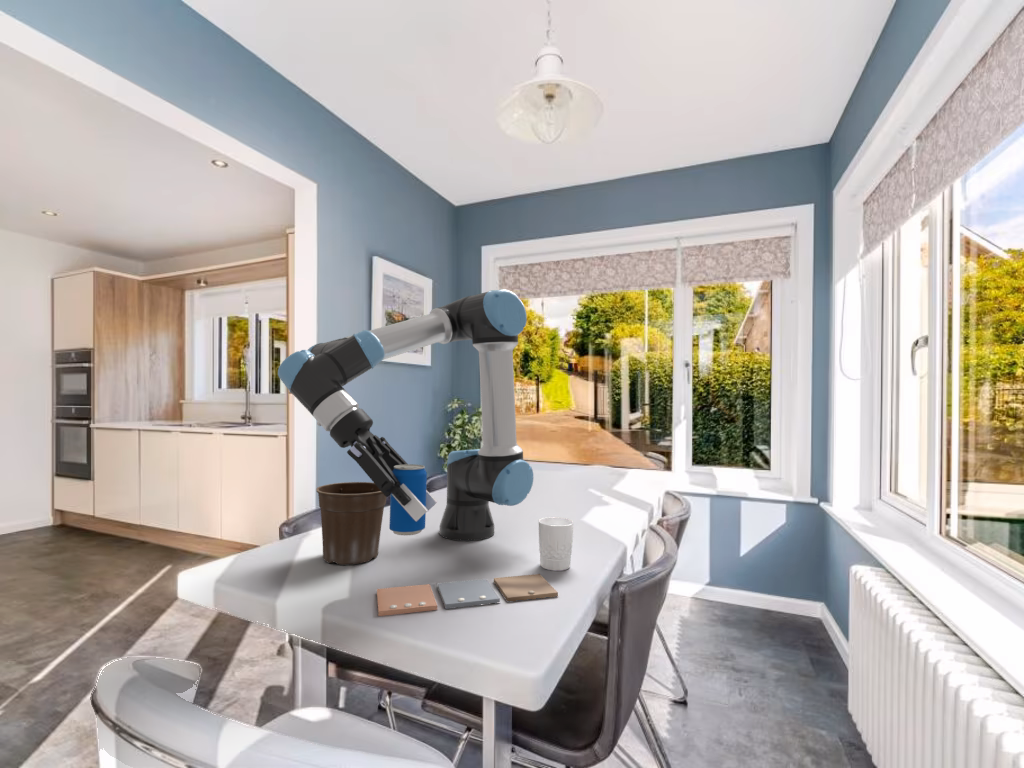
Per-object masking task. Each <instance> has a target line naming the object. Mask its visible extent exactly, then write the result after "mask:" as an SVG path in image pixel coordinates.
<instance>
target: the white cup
mask: <svg viewBox="0 0 1024 768" xmlns="http://www.w3.org/2000/svg"><path fill="white" fill-rule="evenodd" d="M573 538H574V521H573V520H572V519H569V518H566V517H559V516H554V517H553V516H550V517H549V516H547V517H542V518H540V519H538V543H539V545H538V546H539V549H538V551H539V565H540V566H541V568H542V569H545V570H548V571H556V572H558V571H559V572H560V571H566V570H568V569H569V568H570V567H571V557H572V552H573V551H572V549H573V540H574V539H573Z"/></svg>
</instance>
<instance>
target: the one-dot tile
mask: <svg viewBox="0 0 1024 768" xmlns="http://www.w3.org/2000/svg"><path fill="white" fill-rule="evenodd" d="M493 583H494V585H495V584H496V585H495V586H496V588H497V587H498V588H499V589H498V588H497V589H498V591H499V590H500V591H501V592H500V591H499V592H500V593H501V595H502V594H503V595H502V597H503V598H504V597H505V598H506V599H505V598H504V599H505V601H506V600H507V601H513V602H517V601H516V600H523V601H528V600H527V599H532V600H537V599H536V598H541V599H546V598H545V597H550V598H556V597H555V596H558V597H559V592H558V590H557V589H555V588H554V587H553V586H552V584H550V583H549V581H547V579H545V578H544V577H543V576H542V574H540V573H535V574H533V573H532V574H523V575H513V576H502V577H494V578H493ZM507 601H506V602H507Z"/></svg>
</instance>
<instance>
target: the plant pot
mask: <svg viewBox="0 0 1024 768" xmlns="http://www.w3.org/2000/svg"><path fill="white" fill-rule="evenodd" d="M315 491H316V493H318V507H319V508H320V517H321V518H320V519H321V538H322V540H321V541H322V558H323V561H325V562H326V563H329V564H332V563H336V564H337V565H346V566H347V565H349V566H350V565H359V564H362V563H367V562H369V561H371V560H372V559H376V558H377V557H378V555H379V549H380V548H379V546H380V539H381V531H382V524H383V516H384V510H385V506H386V505H387V498H388V497H386V496H385V495H384V493H382V492H381V490H380V489H379V488H378V487H377V486H376V485H375V483H374V482H373V481H372V482H371V481H368V482H367V481H346V482H334V483H328V484H324V485H320V486H318V487H317V488H316V489H315Z"/></svg>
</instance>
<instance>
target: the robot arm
mask: <svg viewBox="0 0 1024 768" xmlns="http://www.w3.org/2000/svg"><path fill="white" fill-rule="evenodd" d="M526 324H527V311H526V308H525V305H524V303H523V302H522V300H521V298H520V297H519V296H518V295H517V294H516V293H515V292H513V291H511V290H509V289H494V290H491V289H490V290H489V291H486V292H482V293H478V294H473V295H468V296H464V297H462V298H459V299H457V300H454V301H452V302H451V303H447V304H446V305H442V306H439V307H436V308H433V309H431V311H430V312H429V313H428V314H426V315H421V316H418V317H414V318H411V319H407V320H402V321H400V322H396V323H392V324H388V325H385V326H381V327H378V328H373V329H370V330H367V329H365V330H364V329H363V330H361V331H358V332H357V333H353V334H352V335H349V336H344V337H342V338H341V337H340V338H338V339H333V340H330V341H327V342H319V343H316V344H314V345H311V346H310V347H308V349H301V350H299V351H297V350H296V351H295V352H293V353H292V354H290V355H288V356H287V357H286V358H284V360H283V361H282V362H281V364H280V365H279V367H278V370H277V376H278V378H279V380H281V382H282V383H283V385H284V386H285V387H286V388H287V390H288V391H289V393H290V394H292V395H293V396H294V398H296V400H298V401H299V403H300V404H301V405H302V406H303V407H304V408H305V409H306V410H307V412H309V413H310V415H312V417H313V418H314V419H315V420H316V421H317V422H316V425H317V426H319V427H322V429H324V430H325V432H329V436H330V437H331V438H332V440H333V441H334V442H335V443H336V444H337V445H338V446H339V447H340V448H343V449H344V448H348V447H350V448H349V449H348V450H347V451H346V453H347V454H348V456H349V457H350V458H352V460H354V461H355V462H356V463H357V464H358V466H359V467H360V468H361V469H362V470H363V471H364V473H365V474H366V475H367V477H369V479H370V480H371V481H372V483H375V485H376V486H377V487H378V488H379V489H380V490H381V492H382V493H384V495H385V496H386V497H387V498H389V497H390V494H391V493H392V496H393V497H394V498H395V499H396V500H397V501H398V502H399V503H400V504H401V506H402V507H403V508H404V509H405V510H406V511H407V512H408V513H409V514H410V516H411V517H412V518H413V519H414V520H415V521H417V520H419V519H420V518H421V517H422V516H423V515H424V514H425V513H428V512H429V511H430V510H431V509H432V508H433V507H434V506H435V505H436V504H437V503H438V500H436V499H435V497H433V495H432V494H431V493H430V492H429V491H428V490H427V489H426V507H425V506H424V505H423V504H422V503H421V502H420V501H419V500H418V499H417V498H416V496H415V495H414V494H413V493H412V492H411V491H410V490H409V489H408V488H407V487H406V486H405V485H404V483H403V484H402V485H401V484H400V482H399V481H398V479H397V478H396V476H395V475H394V473H393V472H392V471H393V470H394V466H396V465H404V464H408V463H407V461H406V460H405V459H404V458H403V457H402V456H401V455H400V454H399V453H398V452H397V450H395V449H394V448H393V447H392V446H391V445H390V444H389V442H388V440H386V438H385V437H384V436H380V438H379V436H378V435H376V434H374V433H372V432H371V428H372V427H373V425H374V422H373V419H372V418H371V417H370V416H369V415H368V413H367V412H366V411H365V410H364V409H363V408H360V407H359V406H360V404H359V403H358V402H357V401H356V400H355V399H354V398H353V397H352V395H350V394H349V393H348V391H347V390H346V389H345V388H344V386H346V385H347V384H349V383H350V382H352V381H353V380H355V379H357V378H358V377H360V376H361V375H363V374H364V373H367V372H368V371H370V370H373V369H374V368H375V367H376V366H377V365H378V364H380V363H381V362H382V361H383V360H387V359H389V358H390V359H391V358H393V357H396V356H399V355H402V354H406V353H409V352H411V351H414V350H418V349H421V348H424V347H428V346H431V345H434V344H437V343H438V344H442V345H446V344H449V343H452V342H453V343H454V342H459V341H472V346H473V348H475V350H476V351H478V361H479V380H480V382H479V383H480V384H479V385H480V400H481V401H480V402H481V424H482V426H481V427H482V443H483V445H482V446H481V448H480V449H465V450H463V449H462V450H452V451H450V453H449V454H448V456H447V462H446V505H445V509H444V511H443V514H442V517H441V521H440V522H439V530H438V531H439V533H438V534H439V536H441V537H442V538H445V539H449V540H454V541H466V542H467V541H480V540H484V539H488V538H491V537H492V536H493V535H495V523H494V519H493V516H492V513H491V508H490V505H489V502H490V503H493V504H497V505H499V506H509V507H513V506H516V505H519V504H521V503H522V502H524V500H525V499H526V498H527V497H528V494H530V492H531V490H532V487H533V484H534V470H533V468H532V466H531V465H530V463H528V461H526V460H525V459H524V450H523V448H522V447H521V446H520V445H518V443H517V441H518V440H517V422H516V421H517V420H516V399H515V398H516V397H515V380H514V379H515V378H514V375H515V373H514V358H513V357H514V356H513V355H514V354H513V351H514V349H515V348H516V347H517V346H518V344H519V335H520V334H521V333H522V332H523V331H524V328H525V327H526ZM400 485H401V486H400Z"/></svg>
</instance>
